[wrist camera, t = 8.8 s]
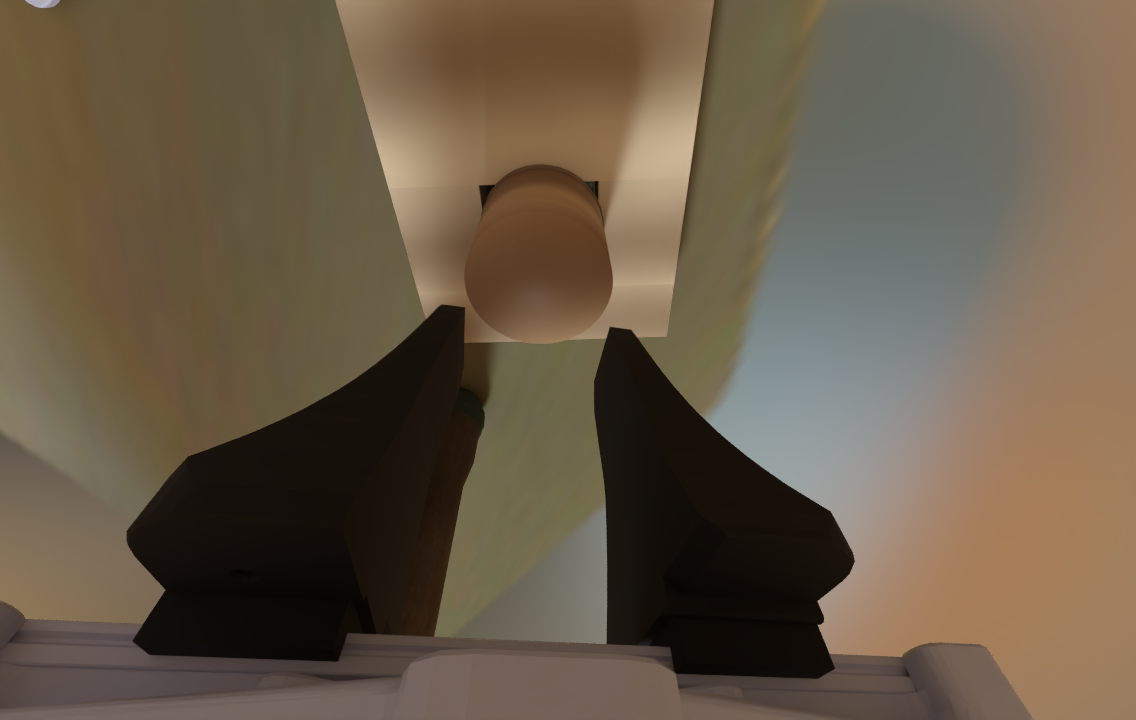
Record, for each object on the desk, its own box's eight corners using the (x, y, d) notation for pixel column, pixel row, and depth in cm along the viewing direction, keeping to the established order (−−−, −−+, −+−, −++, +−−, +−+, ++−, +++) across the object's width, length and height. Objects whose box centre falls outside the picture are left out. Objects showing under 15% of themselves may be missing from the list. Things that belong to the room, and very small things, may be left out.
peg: (473, 160, 18) (437, 231, 13) (587, 131, 17) (599, 193, 12) (509, 262, 21) (492, 356, 15) (607, 241, 20) (624, 330, 15)
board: (332, -154, 13) (281, -187, 11) (709, -169, 13) (743, -206, 10) (445, 309, 23) (432, 344, 21) (655, 301, 23) (666, 336, 21)
